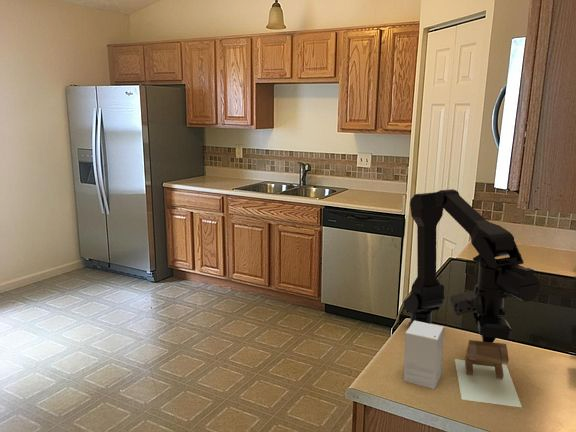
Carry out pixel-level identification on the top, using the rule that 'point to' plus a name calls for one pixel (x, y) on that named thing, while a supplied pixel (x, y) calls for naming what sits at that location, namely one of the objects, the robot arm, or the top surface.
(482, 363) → the footstool
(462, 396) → the mat
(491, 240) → the robot arm
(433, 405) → the top surface
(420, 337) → the supplement box
